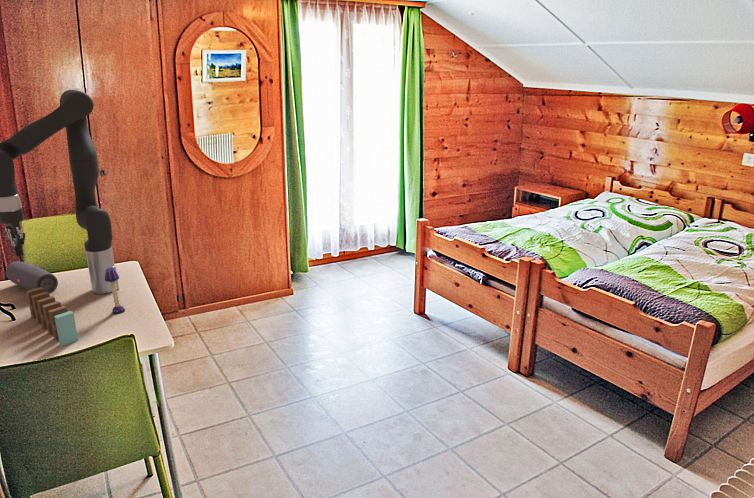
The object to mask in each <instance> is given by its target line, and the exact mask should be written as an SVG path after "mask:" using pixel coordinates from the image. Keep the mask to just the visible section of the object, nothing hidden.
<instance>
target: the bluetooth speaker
mask: <svg viewBox="0 0 754 498" xmlns="http://www.w3.org/2000/svg"><path fill="white" fill-rule="evenodd" d="M5 276H6V278H7V280H8V281H10V282H11V283H14V284H15V285H16V286H19V287H20V288H23V289H25V290H26V291H29V290H33V289H36V288H40V287H42V288H44V292H48V293H49V295H50V294H52V293H54V292H55V291H56V290H57V289H58V284H59V281H58V279H57V277H56V276H55V275H54V274H52V272H49V271H47V270H45V269H44V268H40V267H38V266H37V265H34V264H30V263H28V262H24V261H19V260H17V261H13V262H11V263H10V264H8V266H7V267H6V268H5Z"/></svg>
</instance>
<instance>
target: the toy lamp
mask: <svg viewBox="0 0 754 498" xmlns="http://www.w3.org/2000/svg"><path fill="white" fill-rule="evenodd" d="M119 279H120V276H119V273H118V272H117V269H116V270H115V268H113V267H110V268H107V269H106V271H105V281H107V282H110V283H111V287H112V291H113V292H111V293H112V298H113V302H114V307H113V308H112V310H111V313H112V314H116V315H117V314H118V315H119V314H122V313H124V312H125V311H126V309H125V307H124V306H123V305H121V303H120V299H119V298H120V297H119V292H118V290H117V287H116V283H115V282H116V280H119Z"/></svg>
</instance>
